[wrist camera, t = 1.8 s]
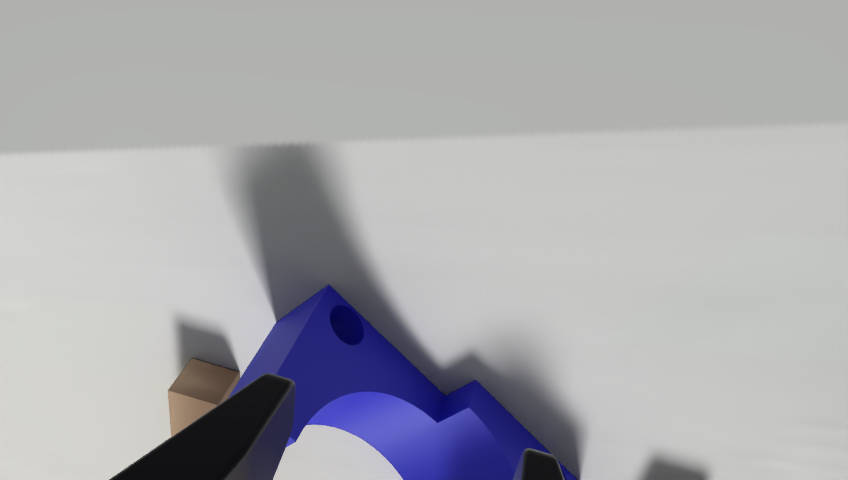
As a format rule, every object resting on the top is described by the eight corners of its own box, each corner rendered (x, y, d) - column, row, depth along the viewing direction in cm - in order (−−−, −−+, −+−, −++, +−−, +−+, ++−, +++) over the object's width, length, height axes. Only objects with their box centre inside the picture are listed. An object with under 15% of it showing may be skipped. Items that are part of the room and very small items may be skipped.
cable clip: (580, 479, 27) (570, 636, 22) (490, 513, 29) (463, 662, 24) (358, 261, 24) (289, 386, 19) (278, 319, 26) (197, 444, 21)
